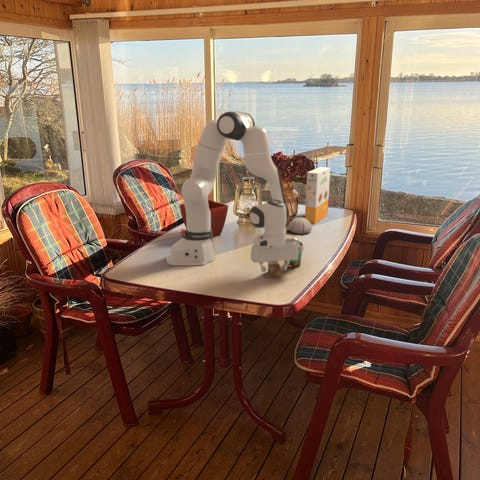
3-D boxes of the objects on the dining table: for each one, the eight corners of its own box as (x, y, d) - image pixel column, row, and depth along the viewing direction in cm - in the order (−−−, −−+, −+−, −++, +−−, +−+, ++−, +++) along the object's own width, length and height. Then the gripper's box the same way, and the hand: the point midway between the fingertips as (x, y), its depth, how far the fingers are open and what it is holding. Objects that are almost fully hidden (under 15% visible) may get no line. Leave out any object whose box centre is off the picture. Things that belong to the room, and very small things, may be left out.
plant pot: (200, 243, 243) (200, 211, 238) (179, 234, 257) (178, 204, 252) (229, 236, 255) (229, 205, 250) (207, 228, 269) (207, 199, 264)
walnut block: (271, 278, 198) (271, 267, 196) (267, 271, 206) (268, 261, 204) (280, 278, 198) (280, 267, 197) (277, 271, 206) (277, 260, 204)
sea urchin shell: (305, 227, 272) (306, 214, 270) (316, 234, 260) (317, 220, 257) (284, 229, 268) (284, 215, 266) (294, 236, 256) (294, 221, 253)
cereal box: (317, 214, 300) (320, 167, 291) (327, 215, 297) (330, 167, 288) (304, 222, 281) (307, 172, 272) (314, 224, 278) (317, 173, 269)
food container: (295, 271, 206) (296, 249, 203) (283, 268, 209) (283, 247, 206) (307, 263, 216) (308, 242, 213) (295, 260, 219) (296, 240, 216)
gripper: (296, 235, 202) (294, 265, 207) (249, 238, 198) (249, 269, 202) (301, 239, 196) (299, 270, 201) (253, 243, 192) (253, 274, 196)
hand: (274, 270), depth 201 cm, fingers open, 8 cm apart
